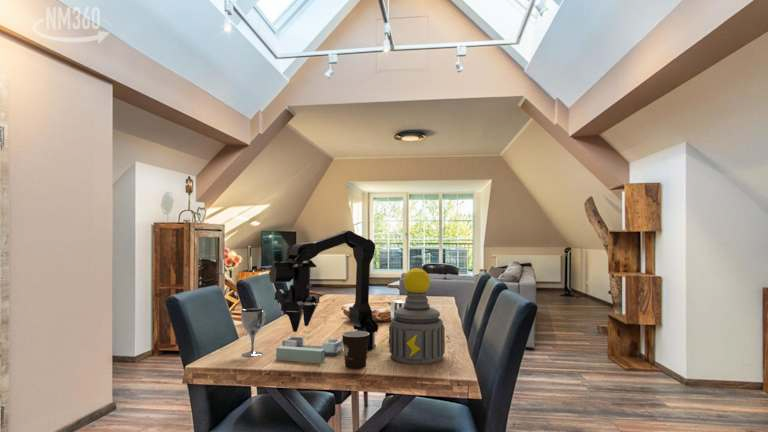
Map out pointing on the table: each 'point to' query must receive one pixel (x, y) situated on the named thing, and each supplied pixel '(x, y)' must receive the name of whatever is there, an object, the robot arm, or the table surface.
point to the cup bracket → (330, 348)
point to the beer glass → (396, 306)
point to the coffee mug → (355, 349)
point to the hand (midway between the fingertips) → (300, 328)
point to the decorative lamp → (416, 325)
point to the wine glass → (252, 326)
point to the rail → (300, 354)
